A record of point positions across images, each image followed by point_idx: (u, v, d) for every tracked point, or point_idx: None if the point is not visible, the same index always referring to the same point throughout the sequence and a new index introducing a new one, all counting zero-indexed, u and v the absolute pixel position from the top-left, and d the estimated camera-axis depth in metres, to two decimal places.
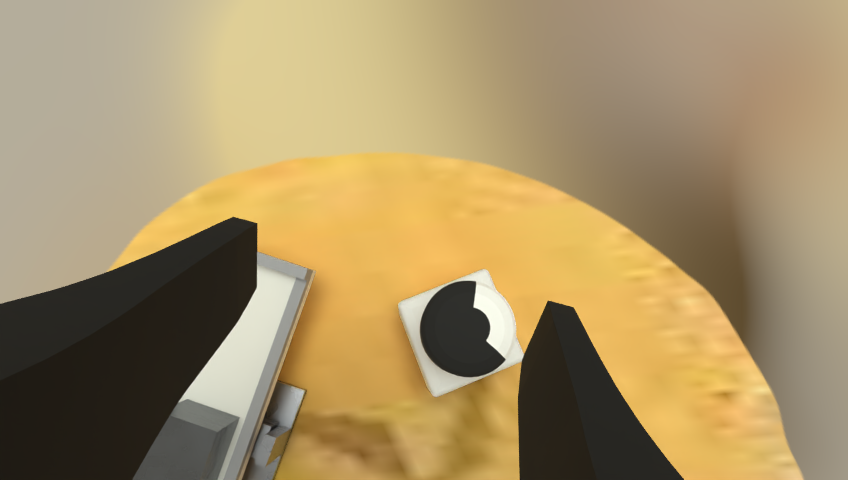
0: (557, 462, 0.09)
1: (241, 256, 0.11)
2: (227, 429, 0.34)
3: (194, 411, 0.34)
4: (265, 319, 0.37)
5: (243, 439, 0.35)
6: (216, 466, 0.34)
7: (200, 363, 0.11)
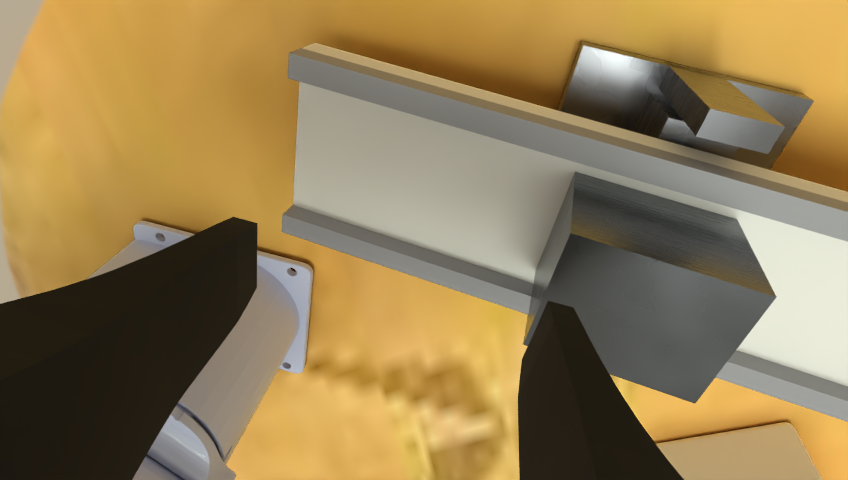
0: (557, 462, 0.09)
1: (241, 256, 0.11)
2: None
3: None
4: None
5: None
6: None
7: (200, 363, 0.11)
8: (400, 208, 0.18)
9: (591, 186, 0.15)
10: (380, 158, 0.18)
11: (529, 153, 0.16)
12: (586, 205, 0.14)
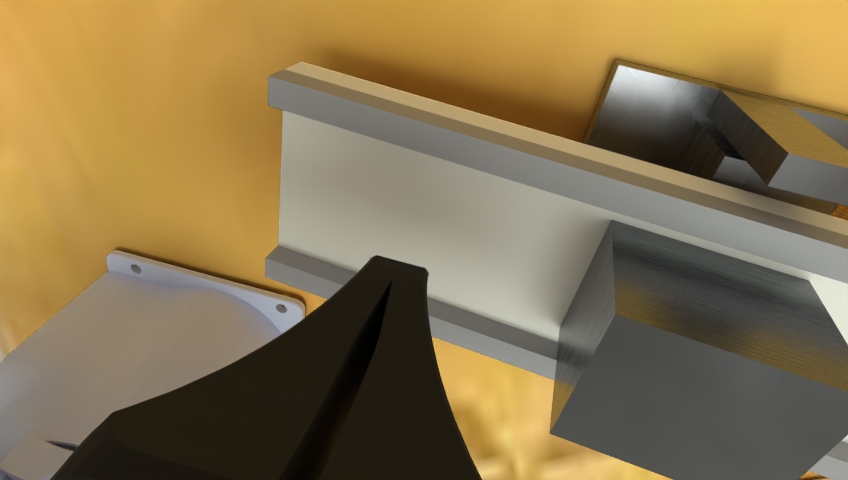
0: None
1: None
2: None
3: None
4: None
5: None
6: None
7: None
8: (401, 253, 0.16)
9: (632, 240, 0.13)
10: (379, 197, 0.15)
11: (556, 197, 0.13)
12: (630, 269, 0.11)
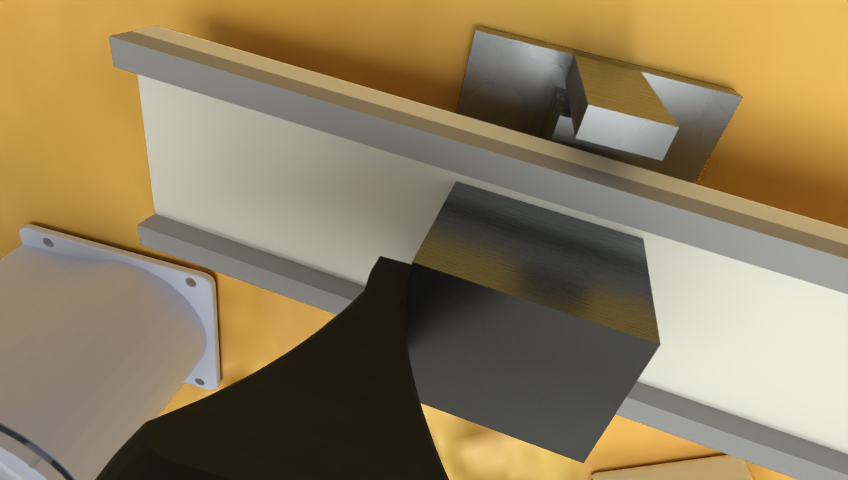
0: None
1: None
2: None
3: None
4: (840, 414, 0.14)
5: None
6: None
7: None
8: (268, 219, 0.16)
9: (469, 199, 0.13)
10: (238, 161, 0.15)
11: (398, 157, 0.14)
12: (451, 224, 0.12)
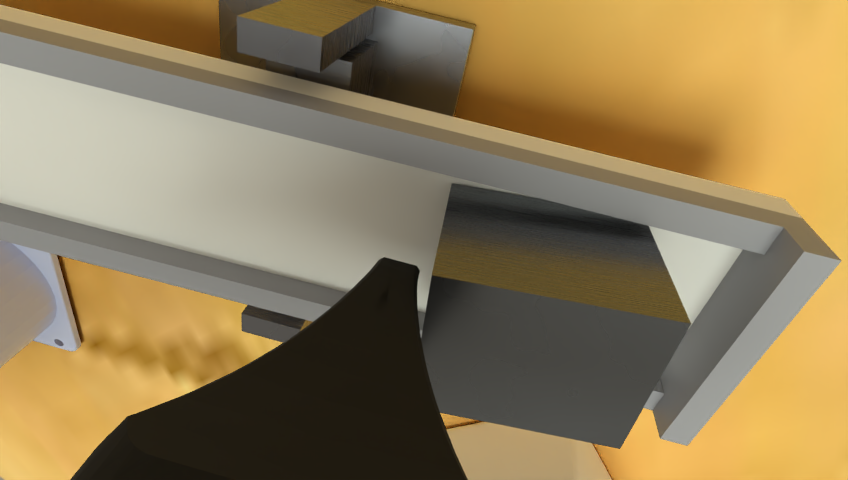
0: None
1: None
2: None
3: None
4: None
5: (284, 304, 0.15)
6: None
7: None
8: (4, 169, 0.15)
9: (469, 201, 0.12)
10: None
11: (105, 91, 0.13)
12: (459, 229, 0.11)
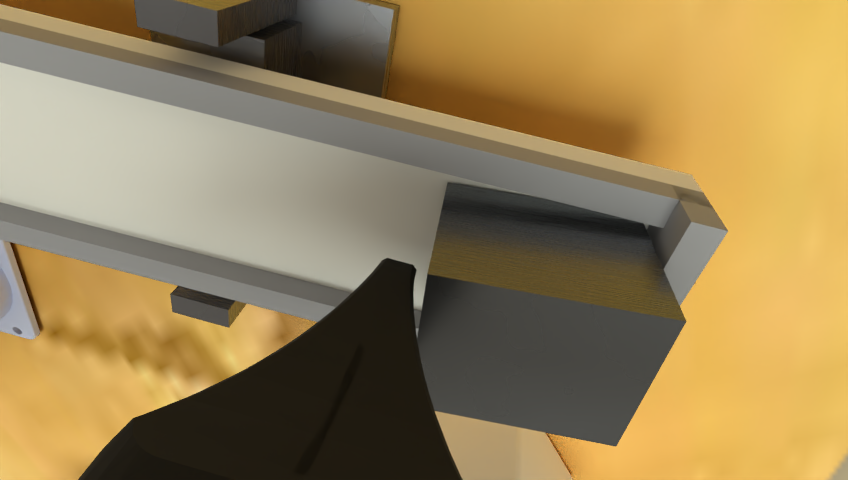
0: None
1: None
2: None
3: None
4: None
5: (208, 283, 0.16)
6: None
7: None
8: None
9: (465, 199, 0.12)
10: None
11: (18, 69, 0.14)
12: (455, 228, 0.11)
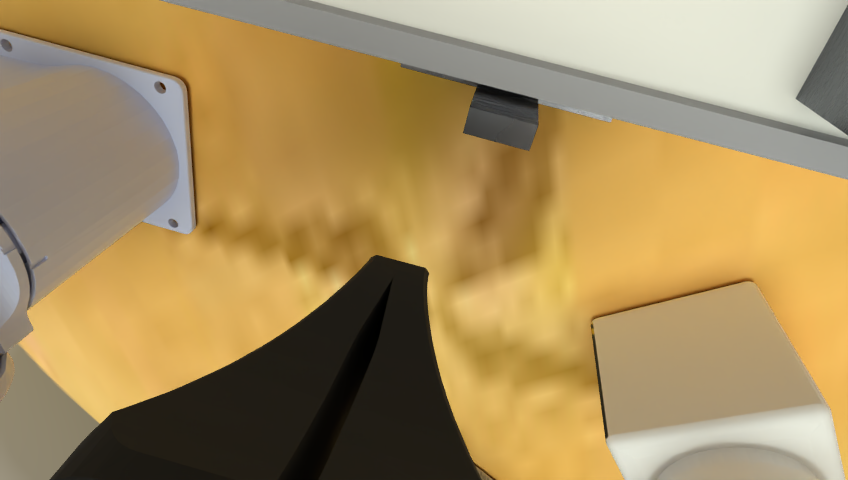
0: None
1: None
2: None
3: None
4: None
5: (536, 81, 0.13)
6: None
7: None
8: None
9: None
10: None
11: None
12: None
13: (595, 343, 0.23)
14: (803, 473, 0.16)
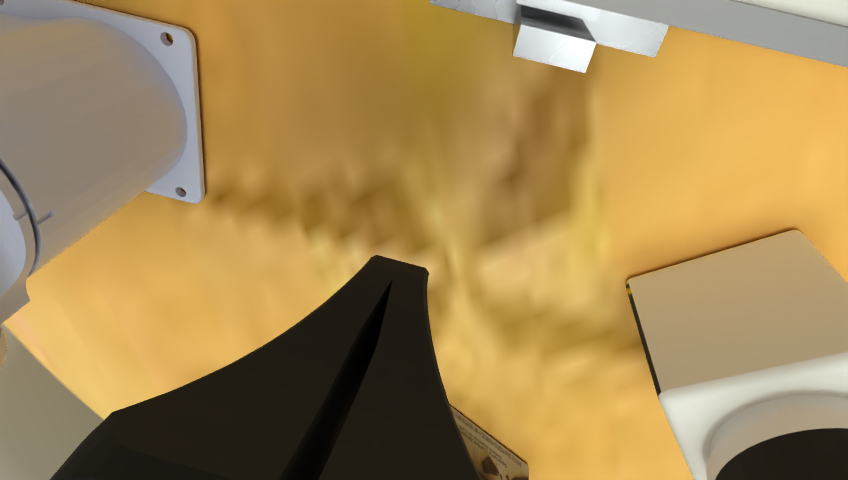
0: None
1: None
2: None
3: None
4: None
5: None
6: None
7: None
8: None
9: None
10: None
11: None
12: None
13: (634, 302, 0.22)
14: None
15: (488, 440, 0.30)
